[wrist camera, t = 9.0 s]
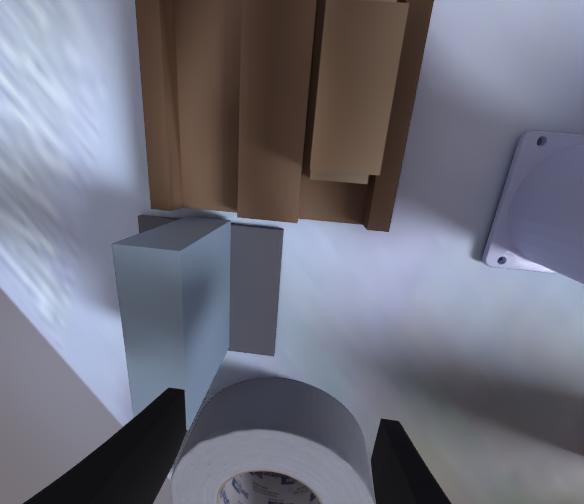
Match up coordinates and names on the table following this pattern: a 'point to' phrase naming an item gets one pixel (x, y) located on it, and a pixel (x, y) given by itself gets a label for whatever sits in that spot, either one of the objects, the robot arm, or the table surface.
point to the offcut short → (356, 84)
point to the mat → (248, 284)
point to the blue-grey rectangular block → (174, 308)
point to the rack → (256, 110)
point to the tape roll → (273, 449)
